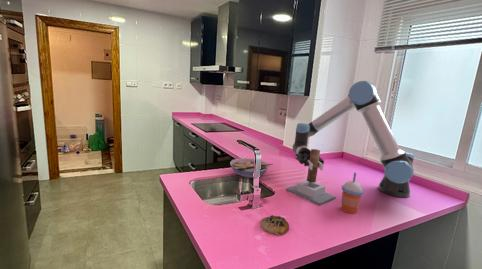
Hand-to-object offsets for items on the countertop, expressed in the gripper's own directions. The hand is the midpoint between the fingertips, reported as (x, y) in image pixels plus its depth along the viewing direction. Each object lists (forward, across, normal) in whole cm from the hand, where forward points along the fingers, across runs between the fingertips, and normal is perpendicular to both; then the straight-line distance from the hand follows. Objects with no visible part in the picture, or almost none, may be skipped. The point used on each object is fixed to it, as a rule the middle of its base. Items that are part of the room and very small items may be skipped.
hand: (316, 167), depth 120 cm
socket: (-5, 0, -16) cm, 17 cm away
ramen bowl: (-26, +30, -17) cm, 44 cm away
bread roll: (+27, +23, -17) cm, 39 cm away
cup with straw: (+10, -14, -16) cm, 24 cm away
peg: (-5, 0, -9) cm, 10 cm away
